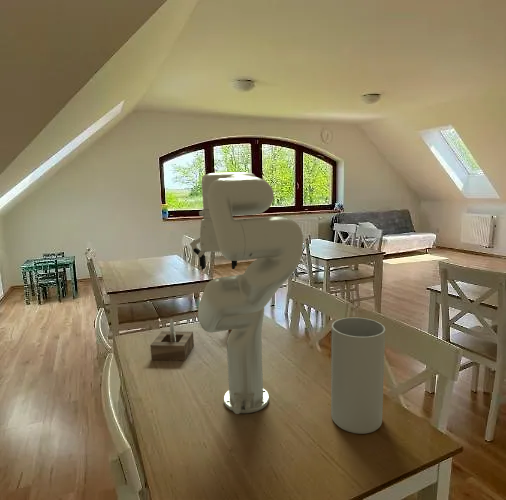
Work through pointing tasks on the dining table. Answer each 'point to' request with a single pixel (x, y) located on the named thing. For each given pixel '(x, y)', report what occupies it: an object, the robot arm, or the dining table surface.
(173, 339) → the screw
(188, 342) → the socket block
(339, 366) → the cylinder vase
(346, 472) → the dining table surface
